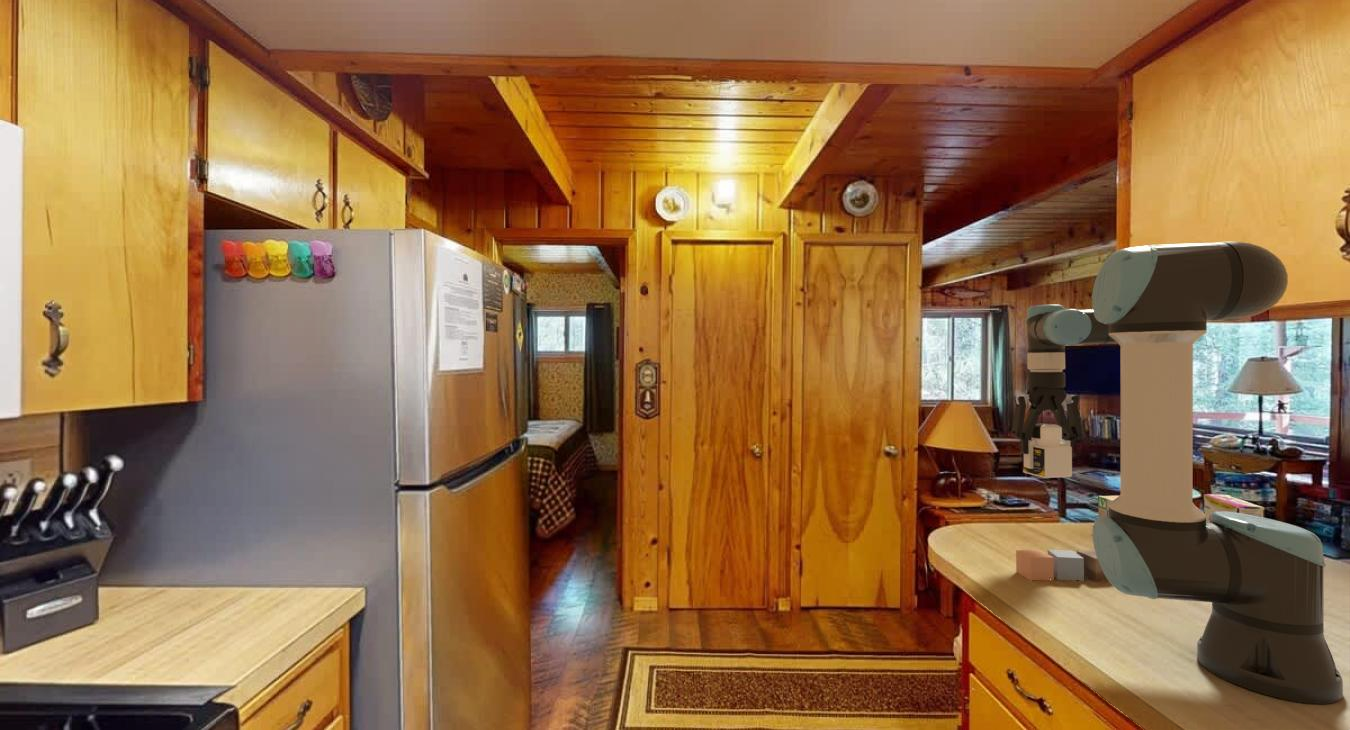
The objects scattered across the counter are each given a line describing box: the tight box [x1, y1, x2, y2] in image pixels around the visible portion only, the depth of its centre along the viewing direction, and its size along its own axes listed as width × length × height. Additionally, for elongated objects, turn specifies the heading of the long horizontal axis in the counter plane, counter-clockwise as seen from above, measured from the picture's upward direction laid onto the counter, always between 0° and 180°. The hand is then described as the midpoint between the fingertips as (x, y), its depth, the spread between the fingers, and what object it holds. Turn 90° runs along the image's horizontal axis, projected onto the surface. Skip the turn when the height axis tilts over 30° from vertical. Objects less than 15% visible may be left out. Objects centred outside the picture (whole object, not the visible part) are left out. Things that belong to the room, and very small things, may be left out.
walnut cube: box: [1076, 549, 1108, 582], centre depth 125 cm, size 5×5×5 cm
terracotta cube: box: [1015, 549, 1055, 581], centre depth 126 cm, size 5×5×5 cm
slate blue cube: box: [1047, 549, 1085, 582], centre depth 125 cm, size 5×5×5 cm
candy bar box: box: [1203, 493, 1266, 523], centre depth 124 cm, size 11×5×16 cm, turn 167°
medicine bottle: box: [1022, 422, 1073, 479], centre depth 136 cm, size 7×7×12 cm
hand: (1046, 467), depth 136 cm, fingers closed on medicine bottle, 8 cm apart
